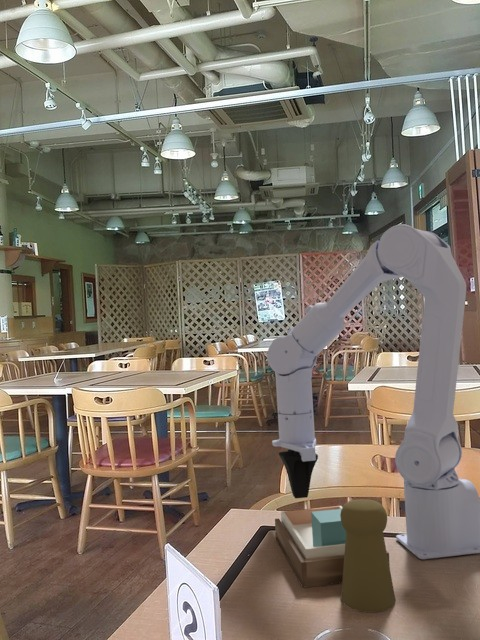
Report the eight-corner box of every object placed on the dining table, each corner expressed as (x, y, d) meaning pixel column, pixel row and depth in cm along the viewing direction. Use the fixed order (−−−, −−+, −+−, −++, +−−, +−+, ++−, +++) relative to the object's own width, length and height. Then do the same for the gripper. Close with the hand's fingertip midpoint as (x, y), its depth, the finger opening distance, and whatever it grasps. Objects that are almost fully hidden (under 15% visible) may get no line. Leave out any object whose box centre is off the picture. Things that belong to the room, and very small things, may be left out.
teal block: (357, 555, 72) (355, 519, 72) (322, 559, 71) (320, 522, 71) (345, 542, 76) (343, 508, 77) (313, 545, 76) (311, 511, 76)
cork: (397, 613, 61) (391, 510, 62) (340, 610, 63) (334, 510, 63) (394, 587, 67) (388, 494, 67) (341, 585, 68) (336, 493, 69)
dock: (347, 531, 86) (346, 511, 86) (390, 577, 70) (388, 552, 70) (275, 539, 85) (274, 518, 85) (302, 587, 68) (301, 562, 69)
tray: (342, 524, 86) (341, 505, 86) (379, 564, 71) (378, 541, 71) (281, 530, 84) (280, 511, 84) (307, 572, 70) (305, 549, 70)
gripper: (262, 408, 99) (267, 487, 98) (280, 420, 84) (286, 513, 84) (302, 405, 100) (307, 483, 99) (326, 416, 85) (332, 508, 85)
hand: (300, 496), depth 92 cm, fingers closed
